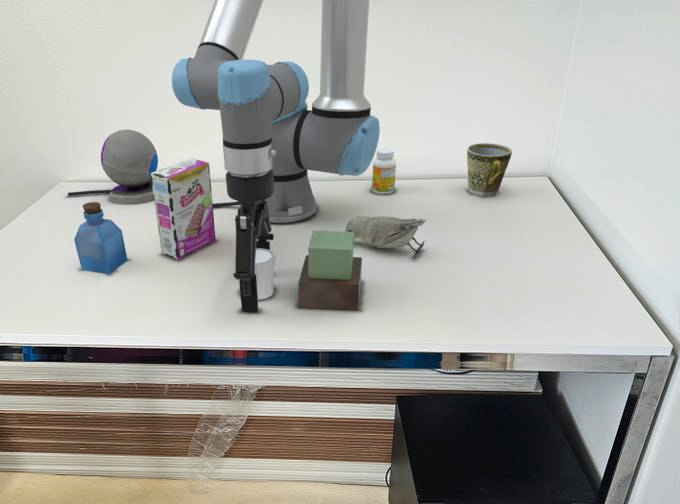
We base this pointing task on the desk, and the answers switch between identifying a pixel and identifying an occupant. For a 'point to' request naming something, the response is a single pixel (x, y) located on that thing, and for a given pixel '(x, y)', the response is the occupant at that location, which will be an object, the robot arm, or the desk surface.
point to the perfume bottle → (99, 242)
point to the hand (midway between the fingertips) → (257, 291)
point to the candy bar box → (184, 207)
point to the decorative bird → (385, 231)
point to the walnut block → (330, 289)
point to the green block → (331, 255)
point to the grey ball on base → (129, 166)
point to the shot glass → (264, 272)
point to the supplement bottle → (384, 171)
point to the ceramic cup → (486, 167)
